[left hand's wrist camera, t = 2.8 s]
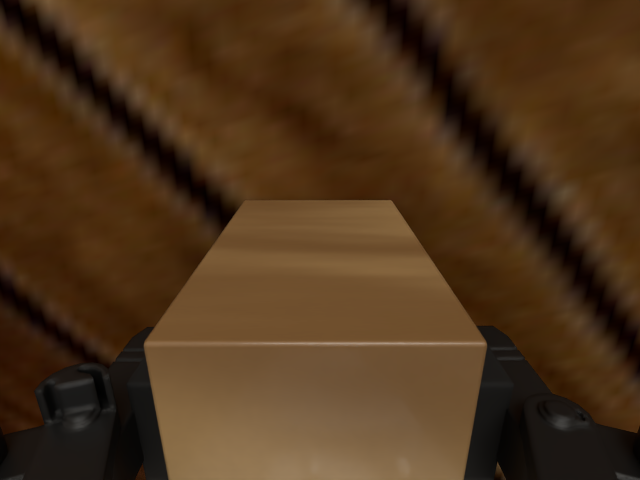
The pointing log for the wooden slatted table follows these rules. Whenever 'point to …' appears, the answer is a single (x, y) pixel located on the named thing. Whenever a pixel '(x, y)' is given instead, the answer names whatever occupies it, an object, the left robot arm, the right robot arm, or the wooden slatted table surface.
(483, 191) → the wooden slatted table surface
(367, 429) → the bar
